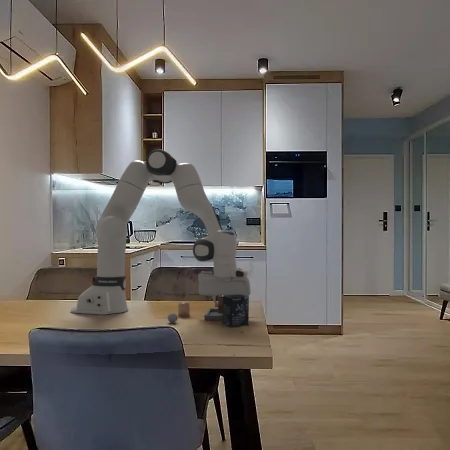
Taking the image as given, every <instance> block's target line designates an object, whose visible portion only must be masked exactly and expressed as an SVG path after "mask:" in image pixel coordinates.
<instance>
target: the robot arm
mask: <svg viewBox="0 0 450 450" xmlns="http://www.w3.org/2000/svg"><path fill="white" fill-rule="evenodd" d="M150 182H153V183H156V184H166V185H167V184H171V183H172V184H173V185H174V191H175V193H176V196H177V200H178V202H179V204H180V206H181V207H182V208H183V209H184V210H186V211H188V212H190V213H192V214H194V215H196V216H197V217H198V218H199V219H200V220H201V221H202V222H203V225H204V227H205V230H206V232H207V234H208V236H204V237H202V238H198V239H197V240H195V241H194V244H193V246H192V253H193V256H194V258H195V259H196V261H198V262H202V263H209V262H210V263H213V270H212V271H211V270H210V271H203V270H202V271H201V272H199V273H198V276H197V281H198V282H199V284H198V294H199V295H200V296H211V300H212V301H213V303H214V308H218V300H216V298H217V296H218V297H219V296H223V295H238V294H241V295H246V296H250V295H251V292H252V291H251V283H250V279H249V278H248V271H247V270H245V269H243V268H240V267H238V266H237V261H236V255H237V238H236V235H235V233H234V232H233V231H231V230H227V229H223V228H222V225H221V223H220V220H219V217H218V215H217V212H216V211H215V208H214V206H213V205H212V203H211V202H210V200H209V198H208V197H207V194H206V191H205V190H204V187H203V183H202V180H201V177H200V174H199V173H198V171H197V169H196V166H195V165H193V164H192V163H191V162H190V163H189V162H183V163H182V162H181V163H178V162H177V160H176V159H175V157H173V156H172V155H171V154H170V153H169V152H168V151H165V150H163V149H162V148H161V149H160V148H158V149H157V148H156V149H153V150H151V151H150V152H149V153H148V154H147V156H146V158H145V161H142V160H137V159H136V160H133V161H131V162H130V163H128V165H127V166H126V168H125V170H124V171H123V173H122V175H121V176H120V179H119V180H118V182H117V185H116V186H115V189H114V191H113V193H112V194H111V197H110V199H109V200H108V203H107V204H106V206H105V207H104V209H103V212H102V213H101V215H100V217H99V219H98V221H97V223H96V227H95V230H96V234H97V236H98V241H97V254H96V255H97V256H96V275H94V277H92V278H91V283H92V285H91V286H90V287H88V288H87V289H86V290H84V291H83V292H82V293H81V294H80V295H78V298H77V302H76V306H74V307H72V308H71V309H70V312H71V313H73V314H92V315H110V314H119V313H124V312H127V311H129V307H128V302H127V298H126V288H127V284H126V283H127V279H126V273H125V272H126V271H125V270H126V269H125V266H126V265H125V263H126V258H125V257H126V249H127V237H128V236H127V235H128V234H127V233H128V226H127V225H128V223H129V221H130V219H131V218H132V216H133V214H134V212H135V211H136V210H137V208H138V205H139V203H140V201H141V200H142V197H143V195H144V193H145V191H146V188H147V187H148V184H149V183H150Z"/></svg>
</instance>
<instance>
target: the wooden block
mask: <svg viewBox="0 0 450 450" xmlns="http://www.w3.org/2000/svg"><path fill="white" fill-rule="evenodd" d="M190 305H191V303H190V302H189V301H178V304H177V307H178V308H177V309H178V311H177V312H178V313H177V317H189V316H190V315H191V314H190V308H191V307H190Z"/></svg>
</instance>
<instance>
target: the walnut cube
mask: <svg viewBox="0 0 450 450" xmlns="http://www.w3.org/2000/svg"><path fill="white" fill-rule="evenodd" d="M217 302H218V307H217V308H218V313H219V314H223V296H218V298H217Z"/></svg>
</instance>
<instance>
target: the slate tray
mask: <svg viewBox="0 0 450 450" xmlns="http://www.w3.org/2000/svg"><path fill="white" fill-rule="evenodd" d="M203 317H204V321H215V322H216V321H217V322H218V321H220V322H221V321H222V322H223V314H219V313H218V307H213V308H212V307H208V308H207V310H206V312H205V314H204V316H203Z"/></svg>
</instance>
